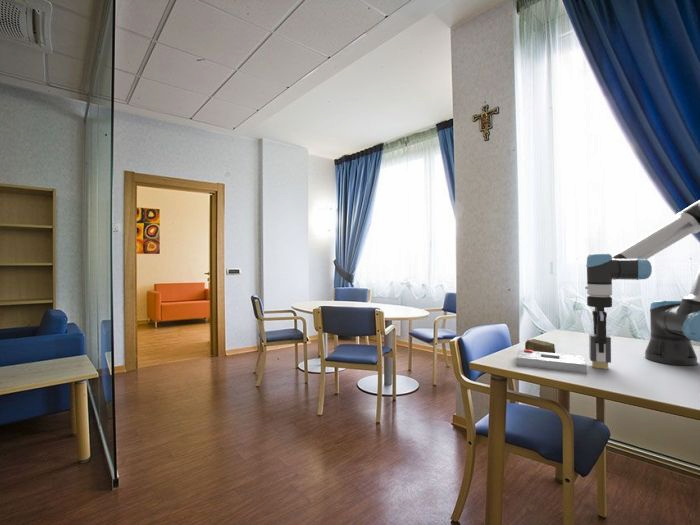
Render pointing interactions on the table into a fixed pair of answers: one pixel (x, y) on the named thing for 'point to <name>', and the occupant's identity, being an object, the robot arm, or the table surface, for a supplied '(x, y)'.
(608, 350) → the plug
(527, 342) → the stone block
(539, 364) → the socket plate
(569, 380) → the table surface
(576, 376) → the table surface
